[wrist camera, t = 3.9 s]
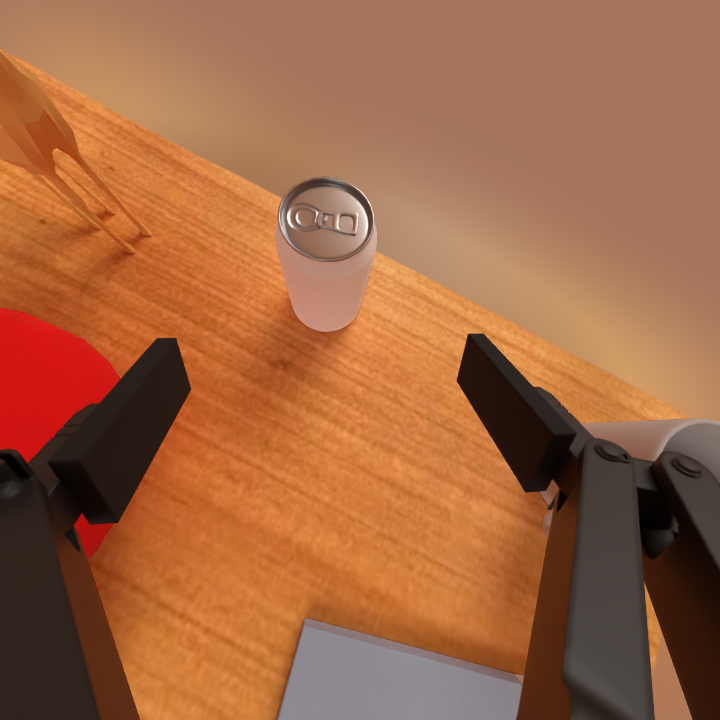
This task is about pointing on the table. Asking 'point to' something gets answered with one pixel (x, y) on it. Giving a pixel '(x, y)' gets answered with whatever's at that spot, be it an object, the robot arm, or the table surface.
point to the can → (325, 250)
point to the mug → (655, 444)
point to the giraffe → (46, 142)
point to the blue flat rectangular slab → (389, 681)
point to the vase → (47, 390)
